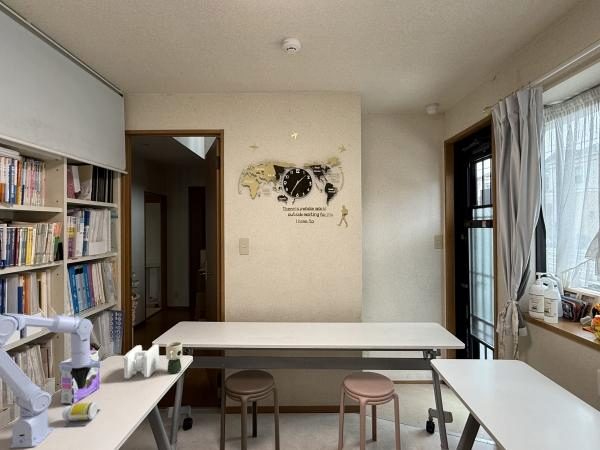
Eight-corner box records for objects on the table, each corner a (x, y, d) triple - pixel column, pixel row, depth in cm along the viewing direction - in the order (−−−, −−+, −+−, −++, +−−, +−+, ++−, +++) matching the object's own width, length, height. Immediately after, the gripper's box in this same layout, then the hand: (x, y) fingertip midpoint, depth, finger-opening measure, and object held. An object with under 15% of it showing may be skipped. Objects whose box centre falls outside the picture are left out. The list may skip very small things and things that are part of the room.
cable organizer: (146, 381, 154) (146, 355, 154) (122, 381, 153) (122, 355, 153) (159, 366, 169) (159, 343, 169) (137, 367, 168) (137, 343, 168)
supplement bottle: (97, 399, 126) (68, 400, 125) (89, 408, 121) (60, 410, 120) (98, 412, 127) (70, 414, 126) (91, 422, 122) (61, 424, 121)
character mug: (178, 376, 158) (177, 348, 157) (162, 376, 157) (162, 348, 157) (185, 366, 168) (185, 340, 168) (170, 366, 168) (170, 340, 168)
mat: (85, 426, 120) (85, 424, 120) (64, 427, 119) (64, 425, 119) (100, 410, 130) (100, 409, 130) (80, 411, 129) (80, 409, 129)
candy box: (72, 405, 134) (72, 363, 133) (60, 404, 135) (59, 362, 135) (100, 388, 147) (99, 350, 147) (88, 387, 148) (87, 349, 148)
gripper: (106, 346, 132) (107, 381, 132) (66, 347, 131) (67, 383, 131) (96, 353, 125) (97, 390, 125) (54, 354, 124) (55, 392, 124)
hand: (81, 387), depth 127 cm, fingers closed
